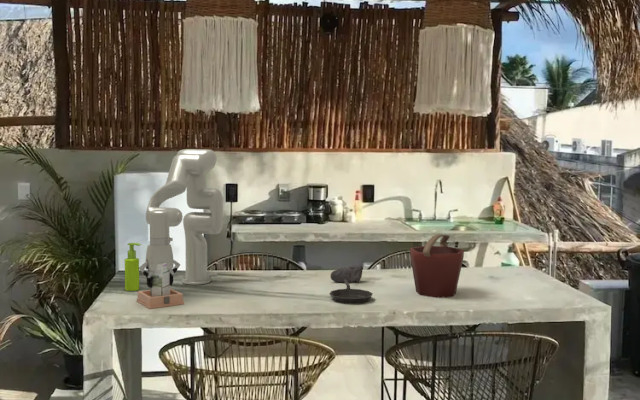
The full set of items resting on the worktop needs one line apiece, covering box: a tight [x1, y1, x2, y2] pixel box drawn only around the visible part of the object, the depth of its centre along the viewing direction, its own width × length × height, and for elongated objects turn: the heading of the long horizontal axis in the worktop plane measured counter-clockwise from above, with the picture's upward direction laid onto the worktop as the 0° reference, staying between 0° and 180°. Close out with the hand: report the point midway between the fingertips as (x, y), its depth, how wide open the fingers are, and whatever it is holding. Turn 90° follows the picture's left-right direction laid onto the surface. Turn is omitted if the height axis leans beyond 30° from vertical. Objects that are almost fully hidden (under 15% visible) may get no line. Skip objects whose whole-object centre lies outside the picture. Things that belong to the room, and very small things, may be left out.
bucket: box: [409, 233, 465, 298], centre depth 292 cm, size 24×22×25 cm
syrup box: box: [149, 262, 171, 297], centre depth 270 cm, size 6×6×14 cm
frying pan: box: [329, 279, 374, 305], centre depth 287 cm, size 18×32×4 cm, turn 4°
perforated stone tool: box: [330, 266, 363, 284], centre depth 313 cm, size 15×5×7 cm, turn 95°
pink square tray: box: [136, 287, 185, 309], centre depth 271 cm, size 14×14×4 cm
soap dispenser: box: [124, 242, 142, 292], centre depth 293 cm, size 6×7×20 cm
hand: (160, 285), depth 271 cm, fingers closed on syrup box, 7 cm apart
